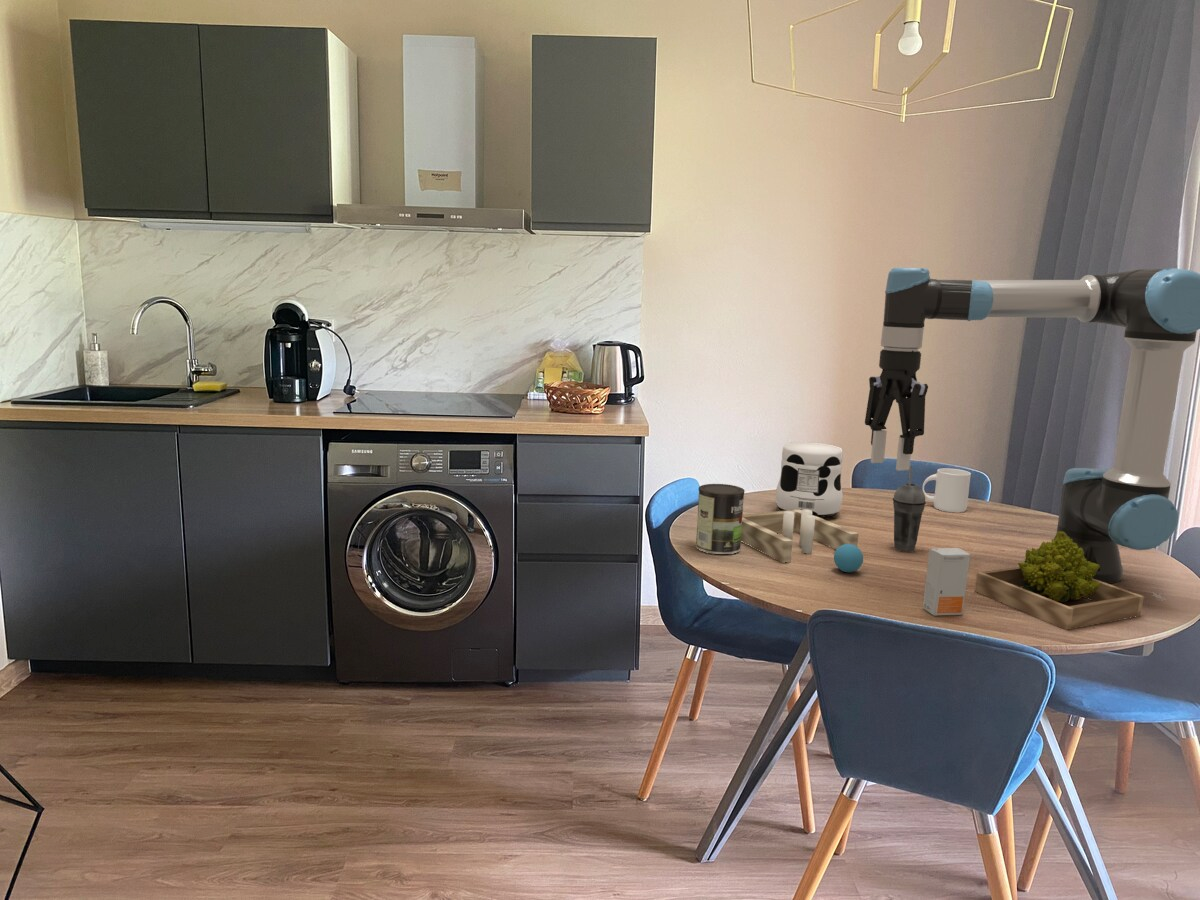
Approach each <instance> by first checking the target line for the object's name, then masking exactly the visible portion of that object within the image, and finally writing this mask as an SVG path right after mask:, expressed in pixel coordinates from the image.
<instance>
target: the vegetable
mask: <svg viewBox="0 0 1200 900" xmlns="http://www.w3.org/2000/svg"><path fill="white" fill-rule="evenodd" d="M1056 533H1057V534H1056ZM1056 533H1055V536H1056V537H1055V536H1054V537H1053V538H1052V539H1051V541H1046V542H1045V541H1042V542H1041V544H1040V546H1039V547H1037V549H1036V548H1034V547H1031V549H1026V550H1025V555H1024V556H1025V558H1024V562H1017V565H1018V567H1020V569H1021V571H1022V572H1023V576H1024V577H1025V578H1024V580H1023V582H1024V583H1025V584H1023V586H1022V587H1021V588H1023V589H1025V590H1028V591H1031V592H1033V593H1036V594H1038V595H1041V596H1043V597H1046V598H1048V599H1051V600H1054V601H1056V602H1062V603H1064V602H1067V601H1068V600H1078V601H1079V600H1080V599H1082V598H1085V597H1088V594H1092V592H1094V591H1095V590H1096V589H1097V588H1098V587H1099V586H1100V585H1101V583H1098V582H1096V581H1093V580H1092V579H1093V578H1092V577H1093V576H1095V575H1096V574H1095V573H1096V571H1097V570H1098V569H1099V567H1100V565H1098V564H1096V563H1091V562H1090V561H1088V562H1087V560H1086V559H1085V557H1084V552H1083V548H1082V547H1081V548H1078V546H1077V544H1076V543H1073V539H1070V537H1068V536H1067V534H1066V533H1065V532H1063V531H1058V532H1057V531H1056Z"/></svg>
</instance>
